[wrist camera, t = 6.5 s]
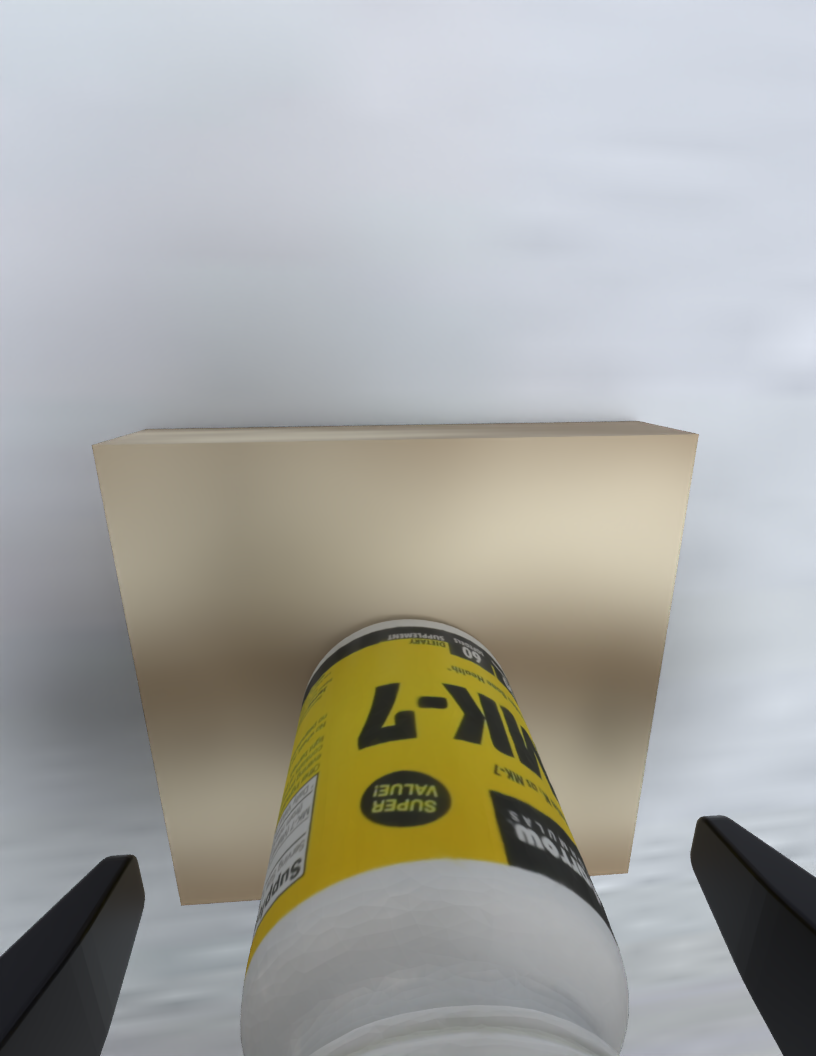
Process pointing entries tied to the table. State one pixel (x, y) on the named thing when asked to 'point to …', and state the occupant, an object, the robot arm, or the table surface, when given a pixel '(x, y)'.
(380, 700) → the supplement bottle
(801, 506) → the table surface
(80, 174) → the table surface
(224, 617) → the birch base
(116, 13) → the table surface
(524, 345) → the table surface
